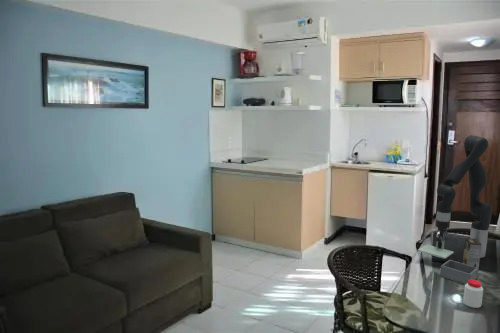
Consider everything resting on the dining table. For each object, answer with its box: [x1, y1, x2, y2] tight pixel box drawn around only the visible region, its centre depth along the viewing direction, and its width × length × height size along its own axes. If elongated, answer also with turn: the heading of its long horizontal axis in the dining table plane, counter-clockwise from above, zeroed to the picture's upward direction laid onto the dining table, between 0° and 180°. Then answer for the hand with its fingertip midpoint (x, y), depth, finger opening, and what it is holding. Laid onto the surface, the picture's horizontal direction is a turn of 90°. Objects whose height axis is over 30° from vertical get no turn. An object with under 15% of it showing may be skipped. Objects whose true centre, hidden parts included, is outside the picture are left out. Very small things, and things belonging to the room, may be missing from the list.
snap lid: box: [417, 240, 455, 260], centre depth 243 cm, size 12×15×7 cm
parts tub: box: [439, 259, 479, 285], centre depth 226 cm, size 12×15×6 cm
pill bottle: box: [462, 279, 484, 309], centre depth 198 cm, size 8×8×11 cm
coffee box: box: [462, 237, 482, 270], centre depth 237 cm, size 9×6×16 cm
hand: (439, 247), depth 247 cm, fingers closed on snap lid, 1 cm apart
